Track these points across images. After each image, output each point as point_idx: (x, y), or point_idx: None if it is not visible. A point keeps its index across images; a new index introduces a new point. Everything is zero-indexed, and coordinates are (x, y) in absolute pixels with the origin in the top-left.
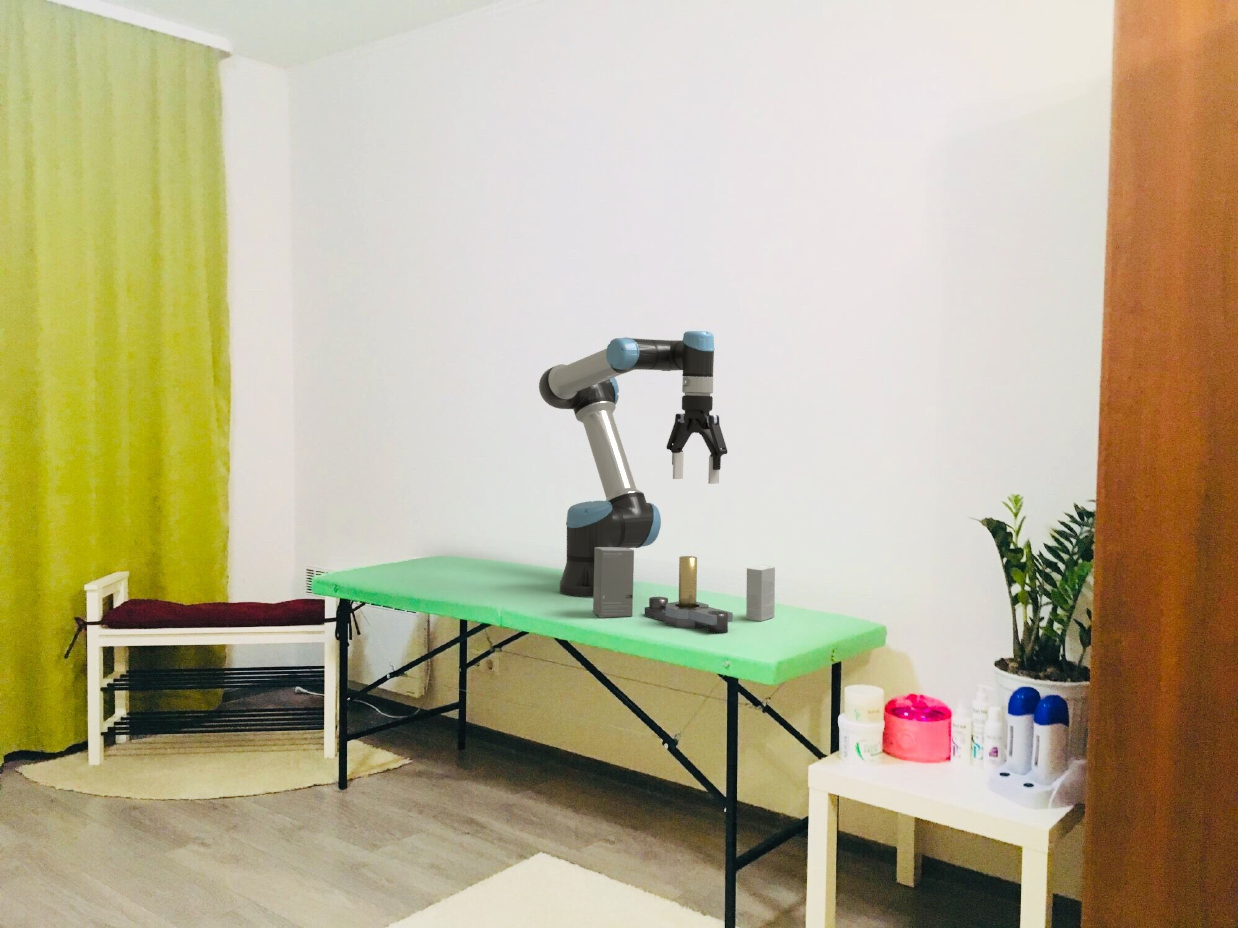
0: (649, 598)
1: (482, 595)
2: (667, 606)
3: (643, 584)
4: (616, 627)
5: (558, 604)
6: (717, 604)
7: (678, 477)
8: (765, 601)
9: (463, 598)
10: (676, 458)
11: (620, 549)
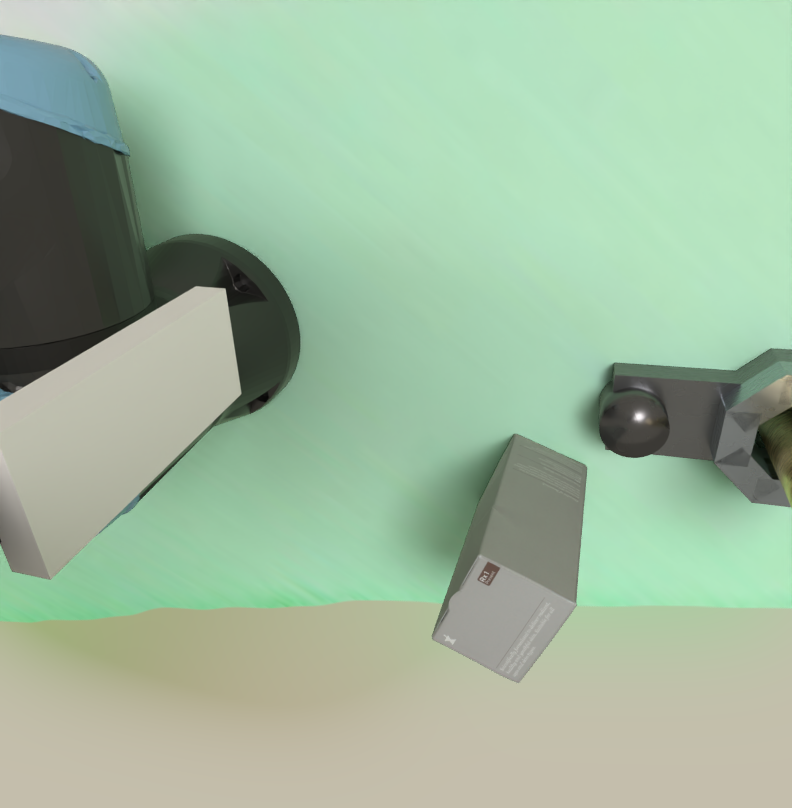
0: (610, 449)
1: (164, 539)
2: (755, 497)
3: (168, 72)
4: (660, 573)
5: (335, 492)
6: (651, 88)
7: (227, 353)
8: None
9: (181, 581)
10: (97, 504)
11: (537, 630)
